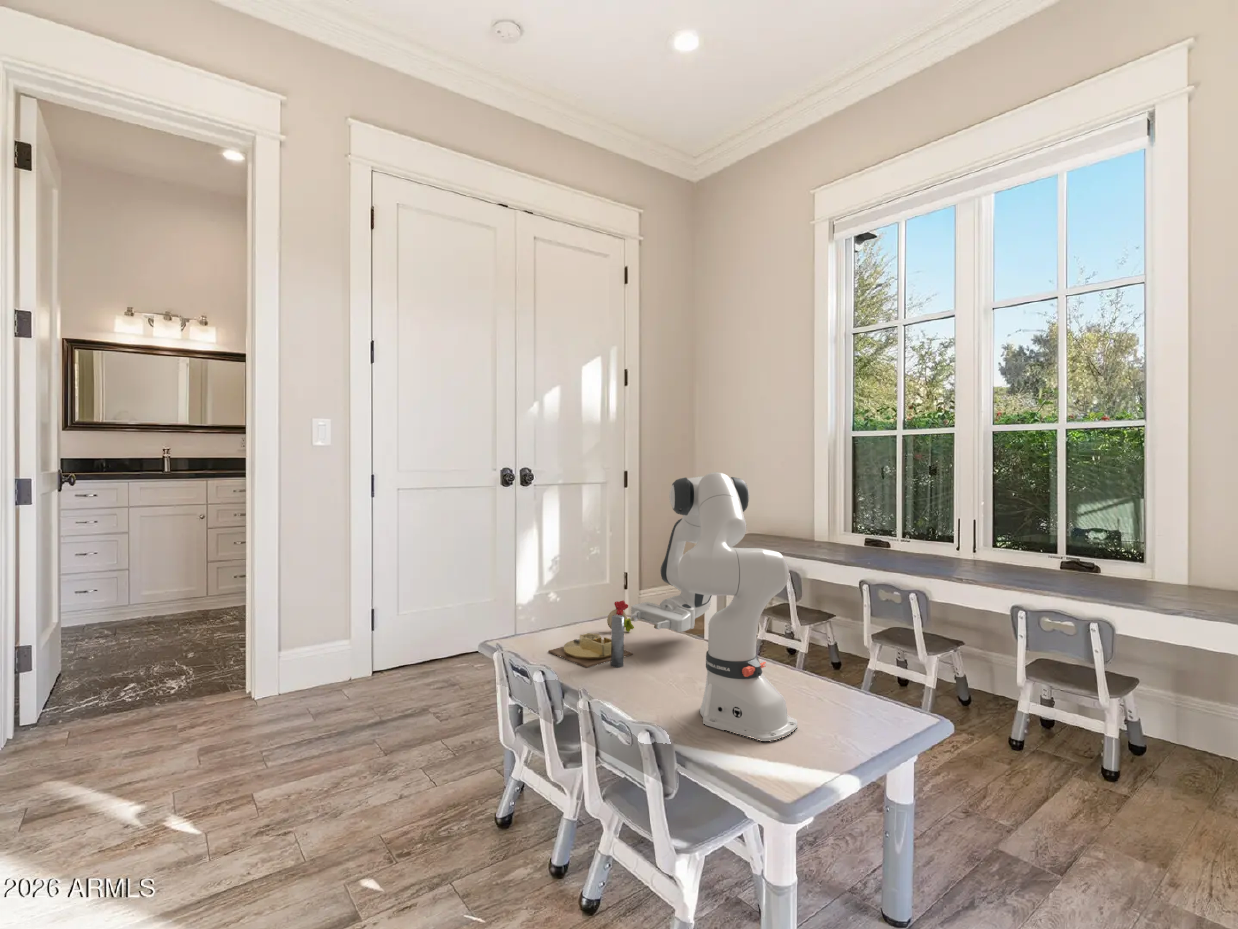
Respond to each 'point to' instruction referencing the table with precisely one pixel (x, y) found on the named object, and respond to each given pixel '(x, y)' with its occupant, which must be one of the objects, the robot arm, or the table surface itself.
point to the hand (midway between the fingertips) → (643, 622)
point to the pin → (617, 641)
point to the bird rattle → (619, 611)
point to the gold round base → (589, 647)
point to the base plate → (583, 662)
